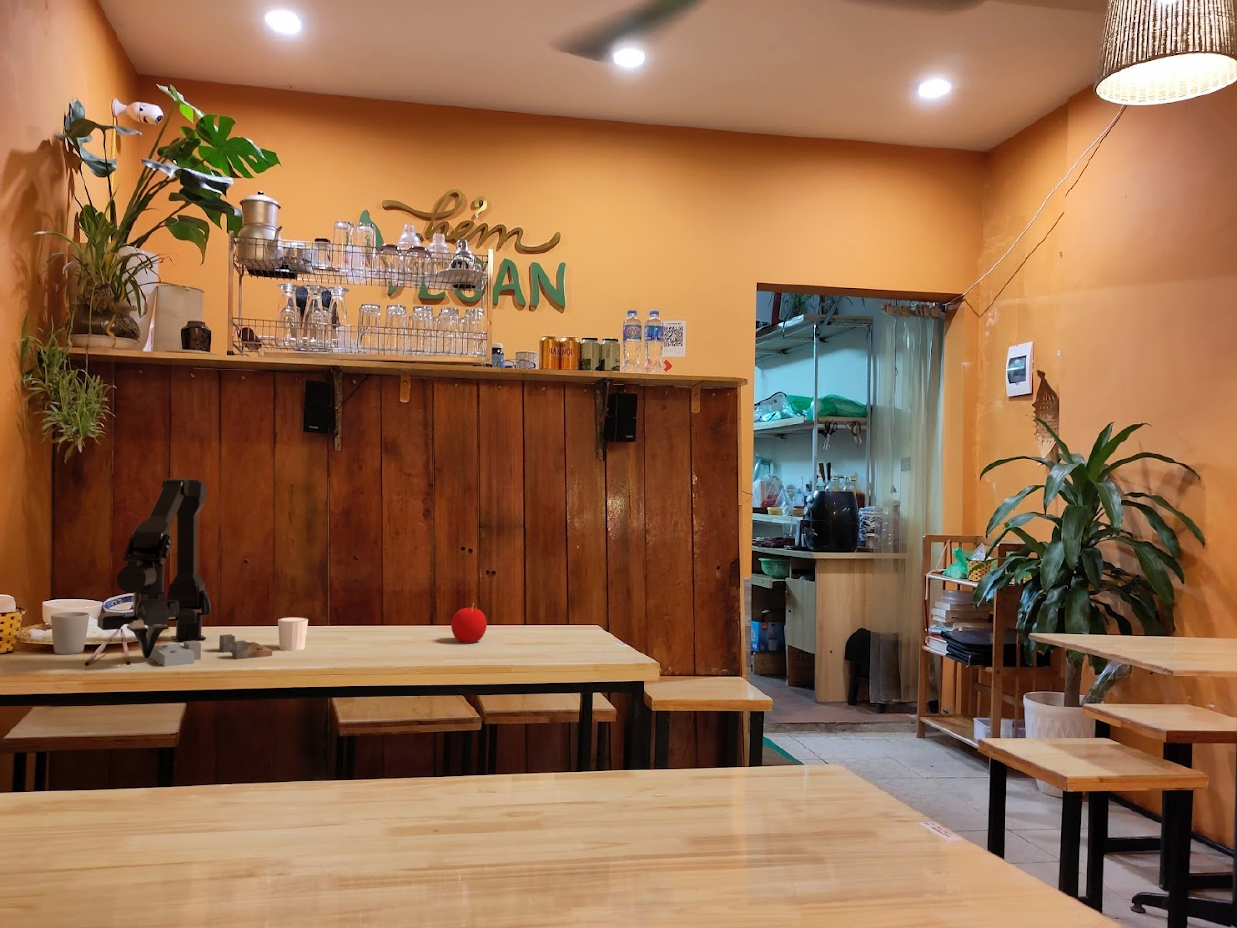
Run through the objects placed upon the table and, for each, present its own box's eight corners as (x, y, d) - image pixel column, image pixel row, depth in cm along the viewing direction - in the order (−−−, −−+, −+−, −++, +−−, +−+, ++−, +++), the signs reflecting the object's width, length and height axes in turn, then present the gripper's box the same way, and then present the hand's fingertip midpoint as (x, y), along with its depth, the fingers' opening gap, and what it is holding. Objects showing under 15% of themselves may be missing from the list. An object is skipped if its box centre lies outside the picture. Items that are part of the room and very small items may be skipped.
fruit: (483, 645, 238) (484, 605, 238) (447, 644, 238) (449, 604, 238) (488, 638, 247) (490, 600, 247) (454, 637, 247) (455, 599, 247)
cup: (45, 655, 208) (46, 617, 208) (56, 647, 218) (58, 610, 218) (84, 654, 211) (85, 616, 211) (93, 646, 220) (95, 610, 220)
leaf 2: (236, 659, 212) (237, 643, 212) (219, 650, 221) (219, 635, 221) (272, 655, 217) (272, 640, 217) (253, 646, 226) (254, 632, 226)
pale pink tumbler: (311, 646, 229) (313, 617, 229) (299, 651, 222) (300, 622, 222) (284, 645, 230) (285, 616, 230) (271, 650, 223) (272, 620, 223)
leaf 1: (164, 667, 202) (165, 650, 202) (149, 657, 211) (150, 641, 211) (206, 662, 208) (206, 646, 208) (189, 652, 217) (190, 637, 217)
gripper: (110, 593, 193) (107, 670, 193) (205, 588, 205) (202, 660, 205) (98, 587, 202) (95, 660, 202) (190, 582, 214) (187, 651, 214)
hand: (146, 658), depth 205 cm, fingers closed
